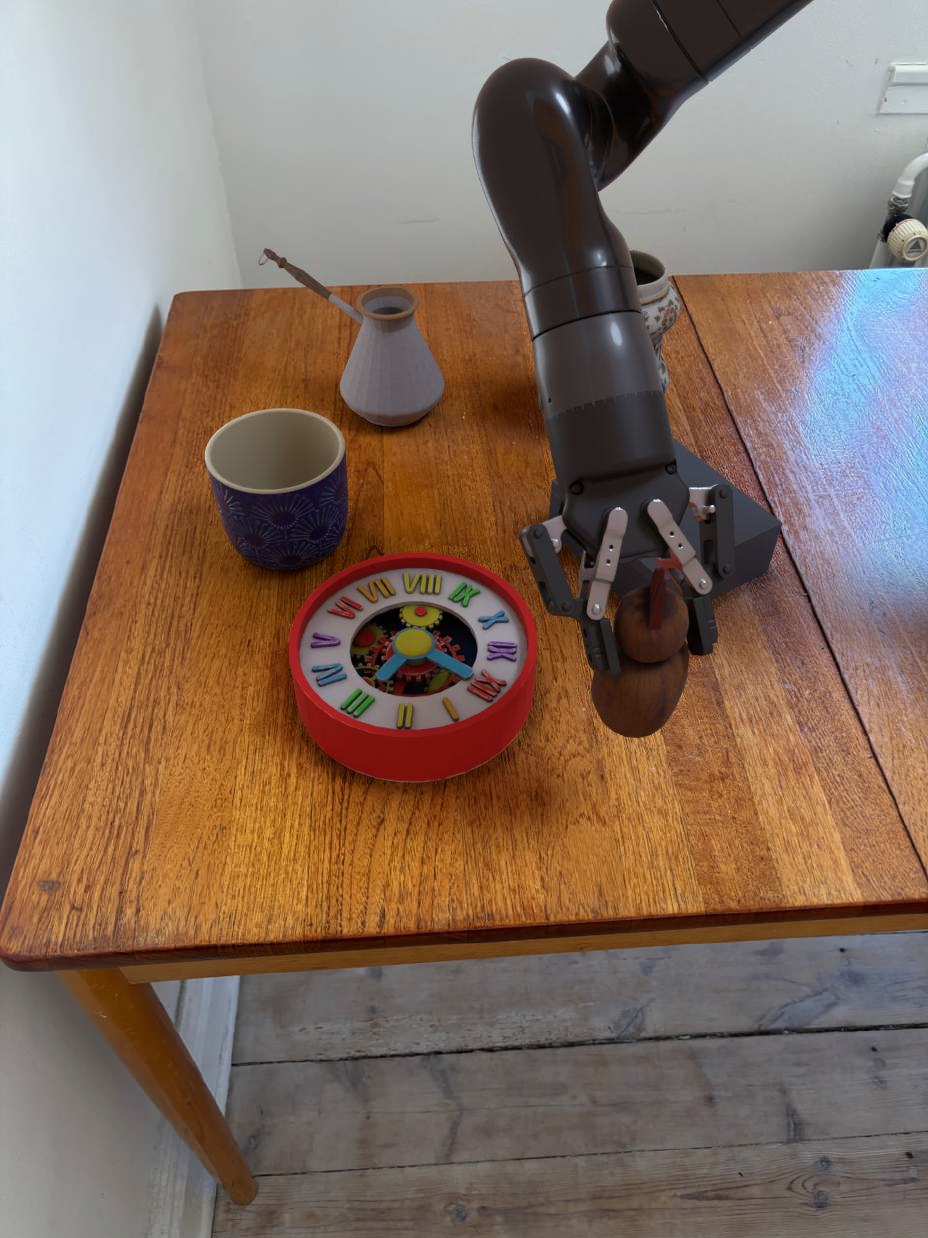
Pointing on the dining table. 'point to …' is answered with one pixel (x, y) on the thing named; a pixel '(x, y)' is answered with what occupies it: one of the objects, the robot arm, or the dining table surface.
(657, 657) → the wooden figurine
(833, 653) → the dining table surface
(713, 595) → the grey display pedestal
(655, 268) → the apothecary jar
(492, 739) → the toy clock
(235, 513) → the planter
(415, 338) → the coffee pot
